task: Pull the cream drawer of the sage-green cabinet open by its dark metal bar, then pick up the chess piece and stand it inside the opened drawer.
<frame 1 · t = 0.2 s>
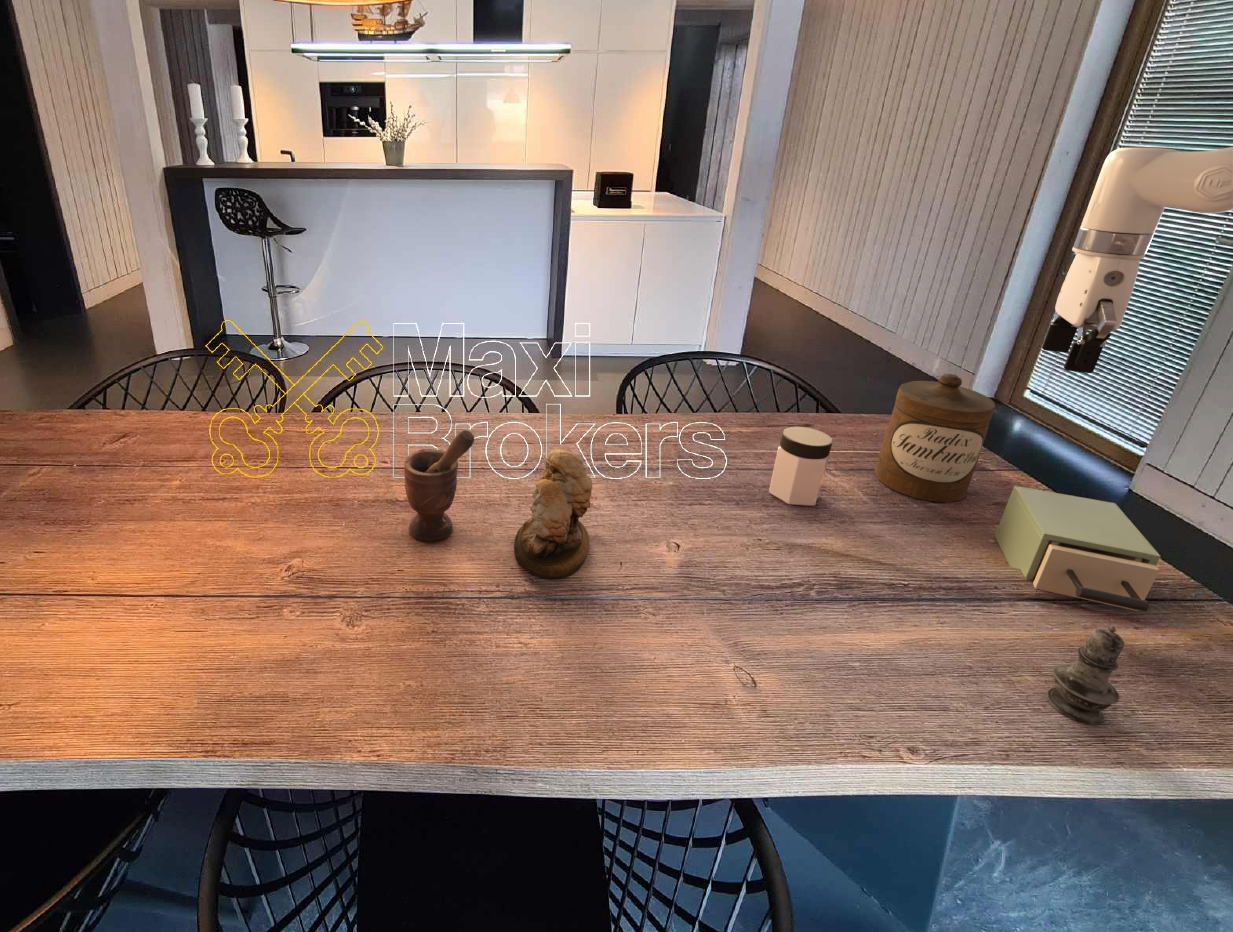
hand: (1065, 360, 98), 31 cm above the table, tool pointing down, fingers open, 9 cm apart
jar: (793, 495, 123), on the table
mortar and pestle: (440, 532, 111), on the table
chess piece: (1073, 707, 79), on the table
cabinet: (1057, 571, 102), on the table
drawer: (1083, 566, 96), point 5 cm above the table, slide at 1.0 cm
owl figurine: (551, 546, 107), on the table
wooden container: (918, 483, 127), on the table
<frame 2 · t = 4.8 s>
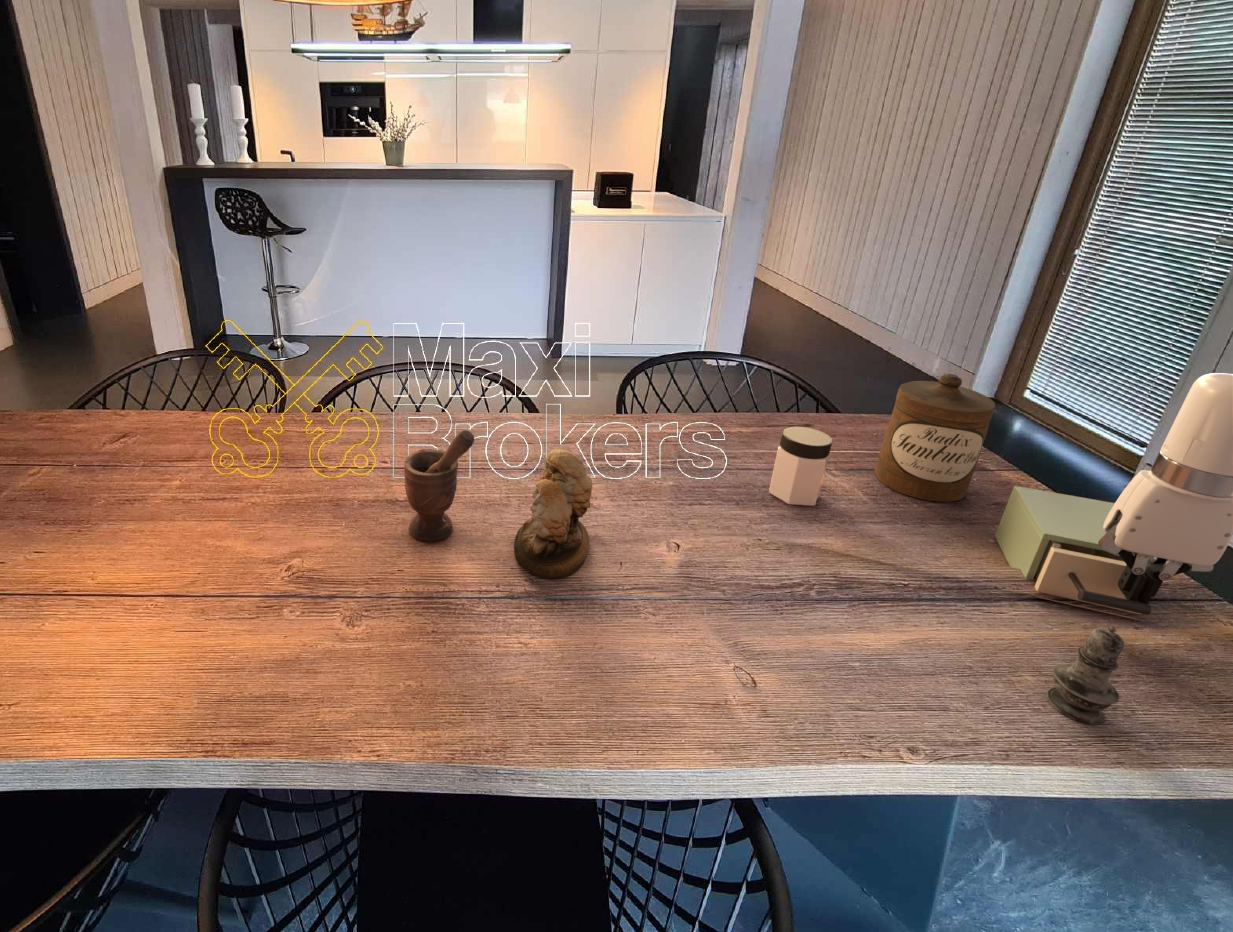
hand: (1132, 595, 88), 6 cm above the table, tool pointing down, fingers closed
drawer: (1085, 569, 95), point 5 cm above the table, slide at 1.7 cm, touching gripper
everything else where it was.
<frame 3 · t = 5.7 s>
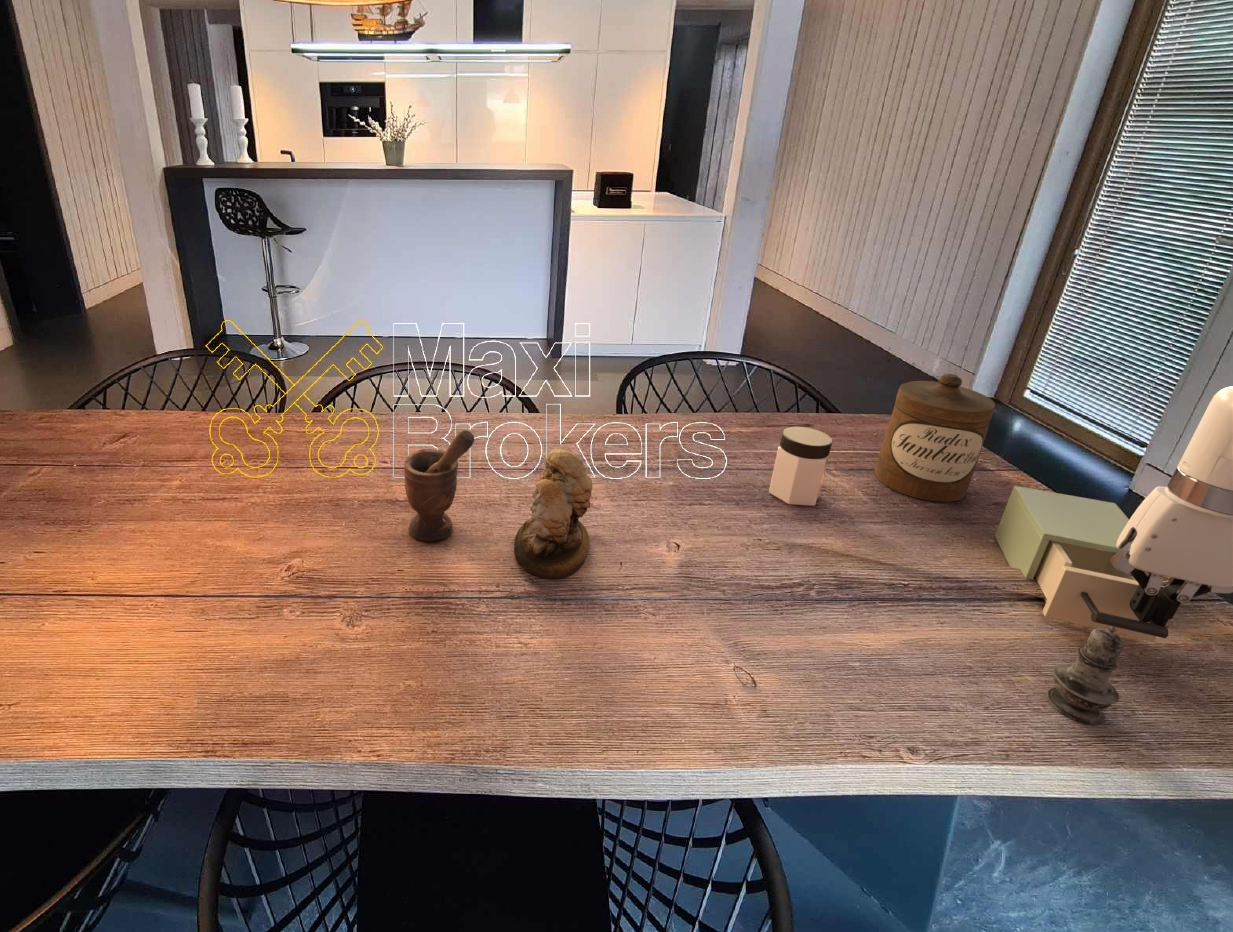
hand: (1146, 617, 84), 6 cm above the table, tool pointing down, fingers closed
drawer: (1097, 588, 91), point 5 cm above the table, slide at 6.3 cm, touching gripper
everything else where it was.
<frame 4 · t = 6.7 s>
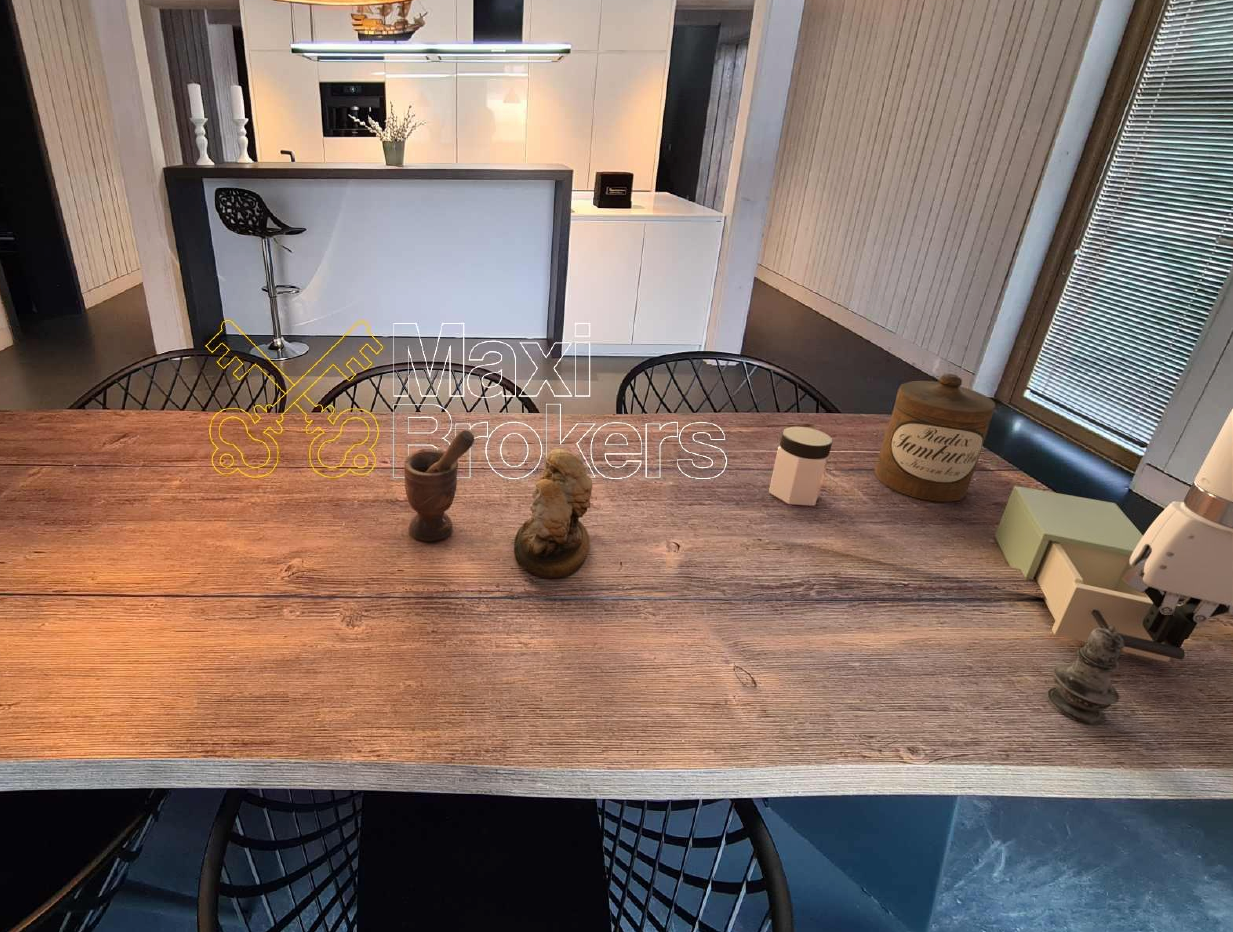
hand: (1160, 636, 81), 6 cm above the table, tool pointing down, fingers closed
drawer: (1109, 605, 88), point 5 cm above the table, slide at 10.1 cm, touching gripper
everything else where it was.
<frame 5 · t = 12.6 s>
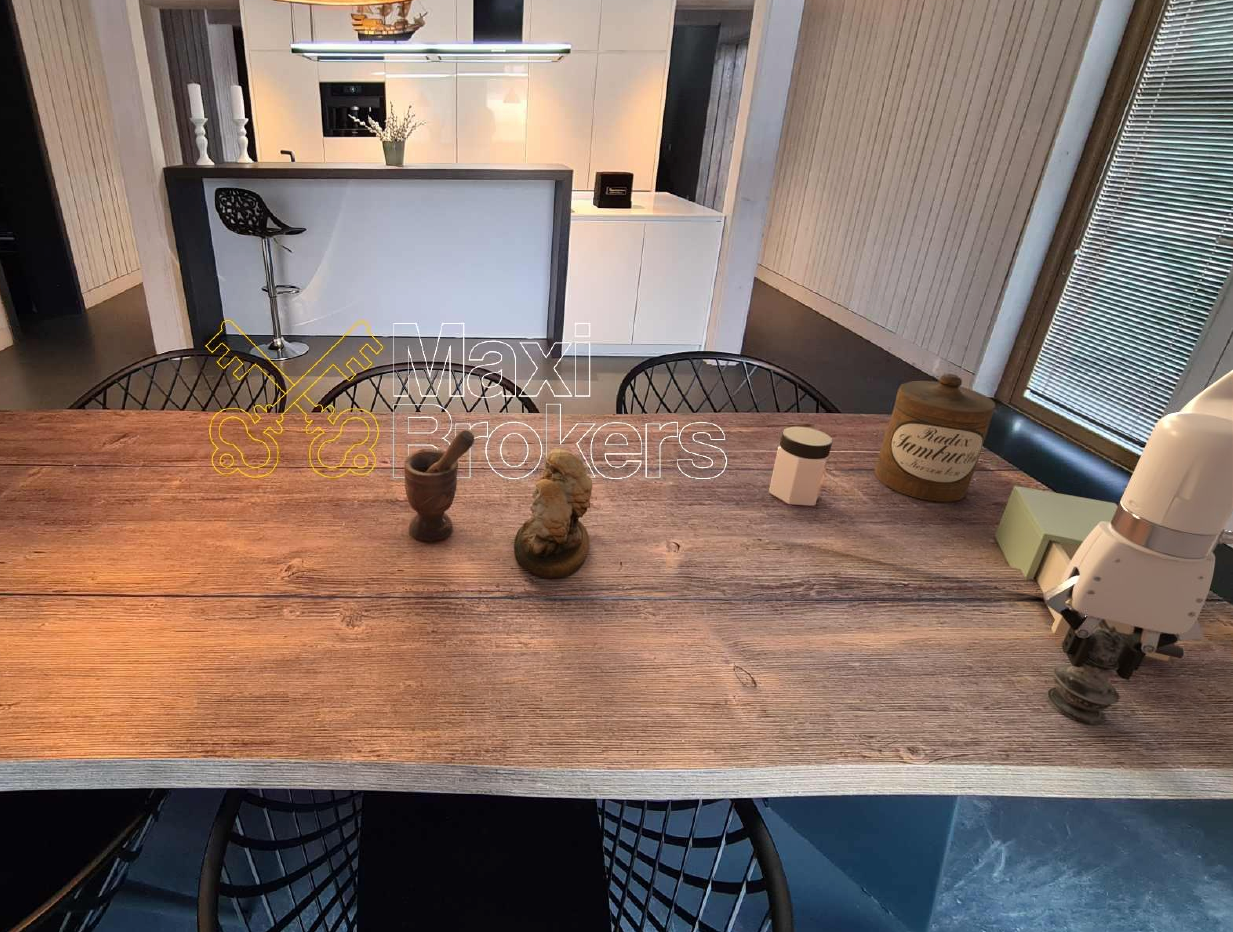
hand: (1095, 663, 76), 7 cm above the table, tool pointing down, fingers closed on chess piece, 3 cm apart
chess piece: (1073, 707, 79), on the table, touching gripper
drawer: (1108, 604, 88), point 5 cm above the table, slide at 9.9 cm
everything else where it was.
when the fingers open (9 cm above the table, at t = 19.7 s): chess piece stays where it is, resting on drawer.
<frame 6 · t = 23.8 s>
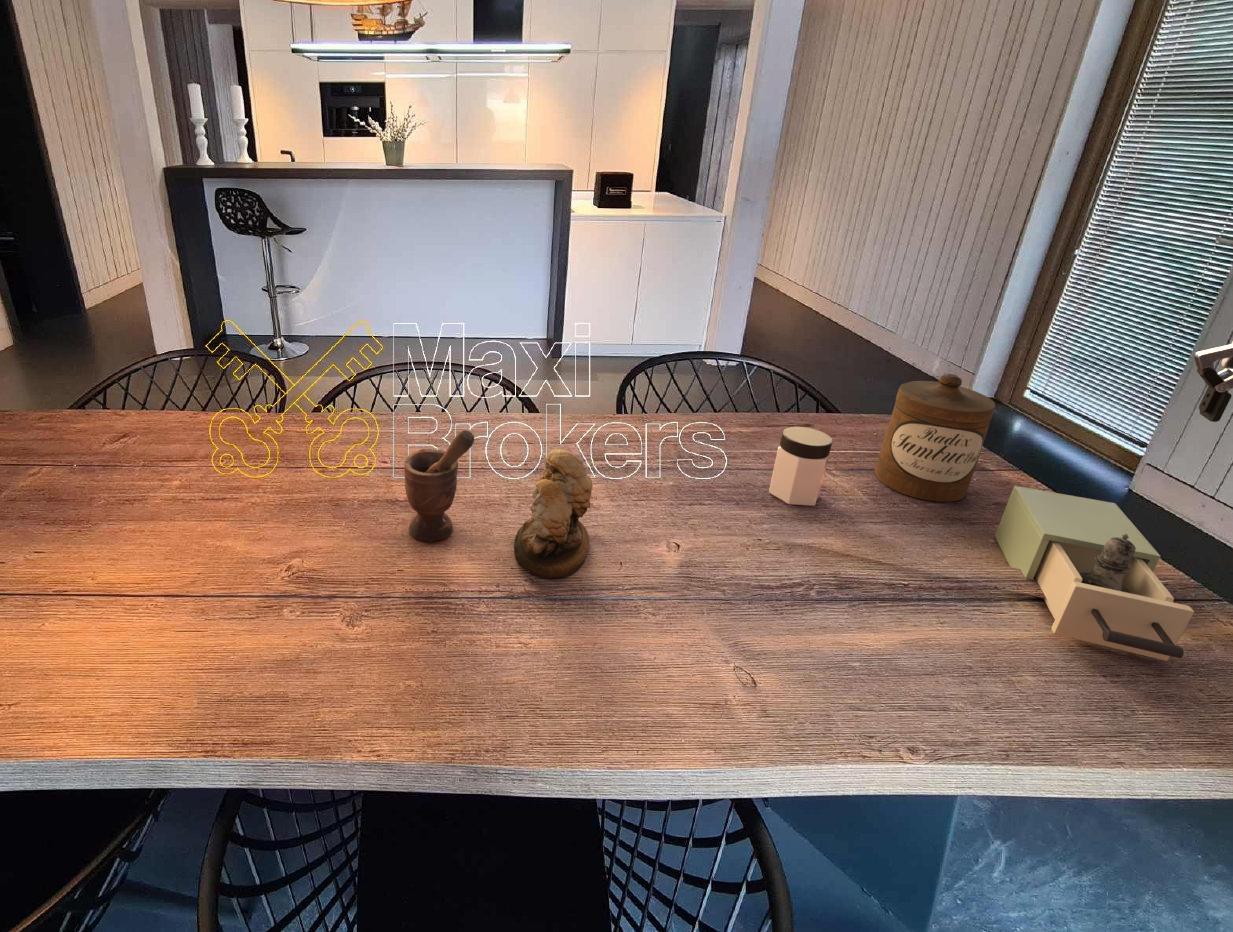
chess piece: (1091, 608, 92), point 2 cm above the table, touching drawer
drawer: (1108, 604, 88), point 5 cm above the table, slide at 9.9 cm, touching chess piece
everything else where it was.
at the end: drawer slide at 9.9 cm; chess piece inside the target area in the drawer (0.5 cm from its centre), point 1.9 cm above the cabinet's base; chess piece tilted 0° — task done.
